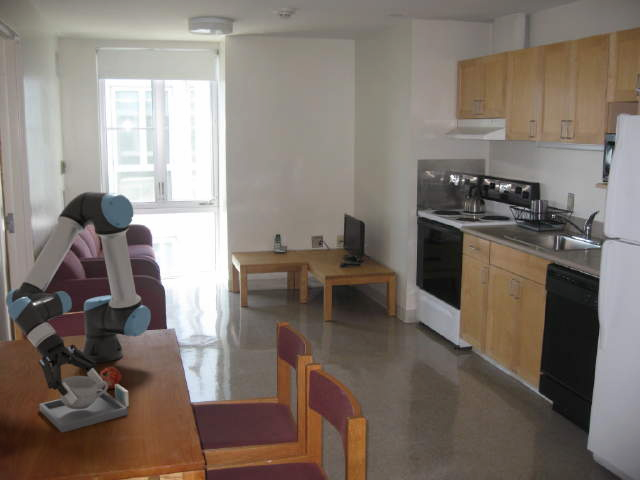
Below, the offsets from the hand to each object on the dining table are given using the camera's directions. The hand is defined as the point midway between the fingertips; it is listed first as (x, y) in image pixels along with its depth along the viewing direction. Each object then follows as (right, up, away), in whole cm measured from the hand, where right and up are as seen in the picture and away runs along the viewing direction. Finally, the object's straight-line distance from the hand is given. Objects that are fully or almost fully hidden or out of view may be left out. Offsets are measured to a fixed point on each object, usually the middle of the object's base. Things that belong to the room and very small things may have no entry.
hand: (89, 394), depth 212 cm
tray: (-2, -6, +2) cm, 7 cm away
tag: (+7, -5, +10) cm, 13 cm away
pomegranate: (0, -3, +23) cm, 23 cm away
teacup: (-3, -4, +2) cm, 5 cm away
